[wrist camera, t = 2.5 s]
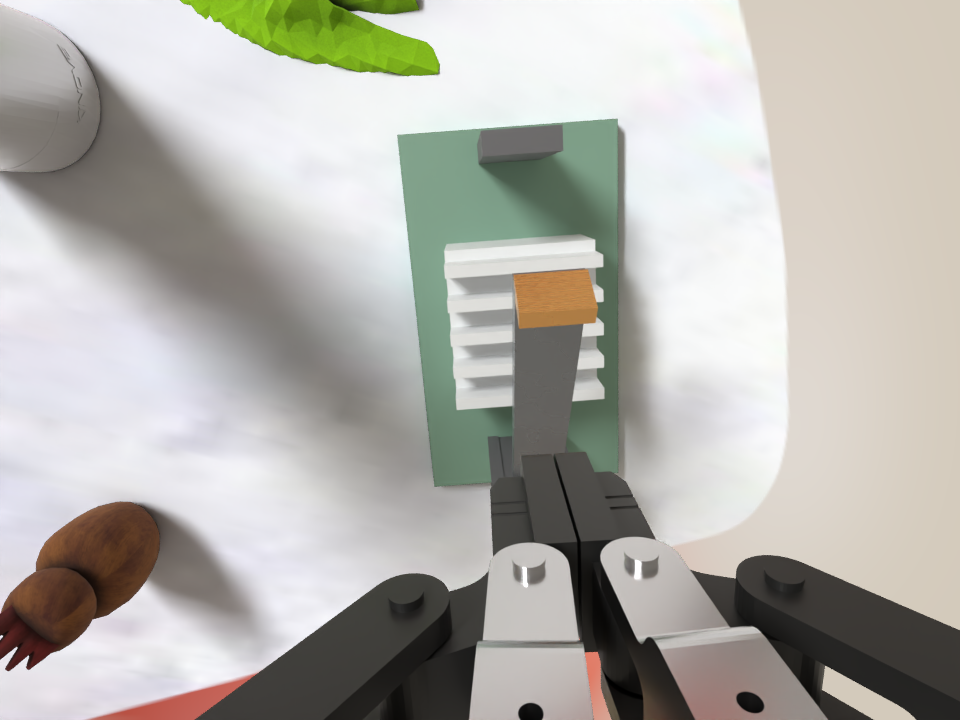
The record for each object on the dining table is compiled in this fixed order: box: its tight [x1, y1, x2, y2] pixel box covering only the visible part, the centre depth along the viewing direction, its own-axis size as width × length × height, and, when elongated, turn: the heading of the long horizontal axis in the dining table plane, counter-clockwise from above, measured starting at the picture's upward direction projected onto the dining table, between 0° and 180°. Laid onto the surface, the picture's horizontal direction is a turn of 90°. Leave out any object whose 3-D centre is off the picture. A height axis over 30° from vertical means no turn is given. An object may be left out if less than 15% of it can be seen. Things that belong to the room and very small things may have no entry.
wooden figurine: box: [0, 502, 160, 671], centre depth 38 cm, size 7×6×15 cm
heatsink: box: [397, 119, 618, 487], centre depth 36 cm, size 14×25×10 cm, turn 4°
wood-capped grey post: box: [512, 268, 598, 477], centre depth 28 cm, size 19×3×2 cm
